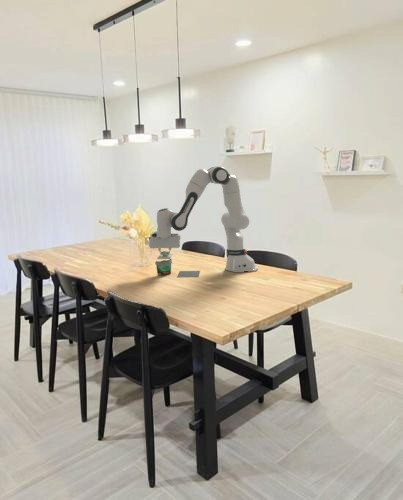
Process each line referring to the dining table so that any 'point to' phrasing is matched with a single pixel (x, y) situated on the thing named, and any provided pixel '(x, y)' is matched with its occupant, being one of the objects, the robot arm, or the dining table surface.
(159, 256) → the lid
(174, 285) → the dining table surface
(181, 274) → the mat
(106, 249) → the dining table surface
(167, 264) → the food container
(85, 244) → the dining table surface
